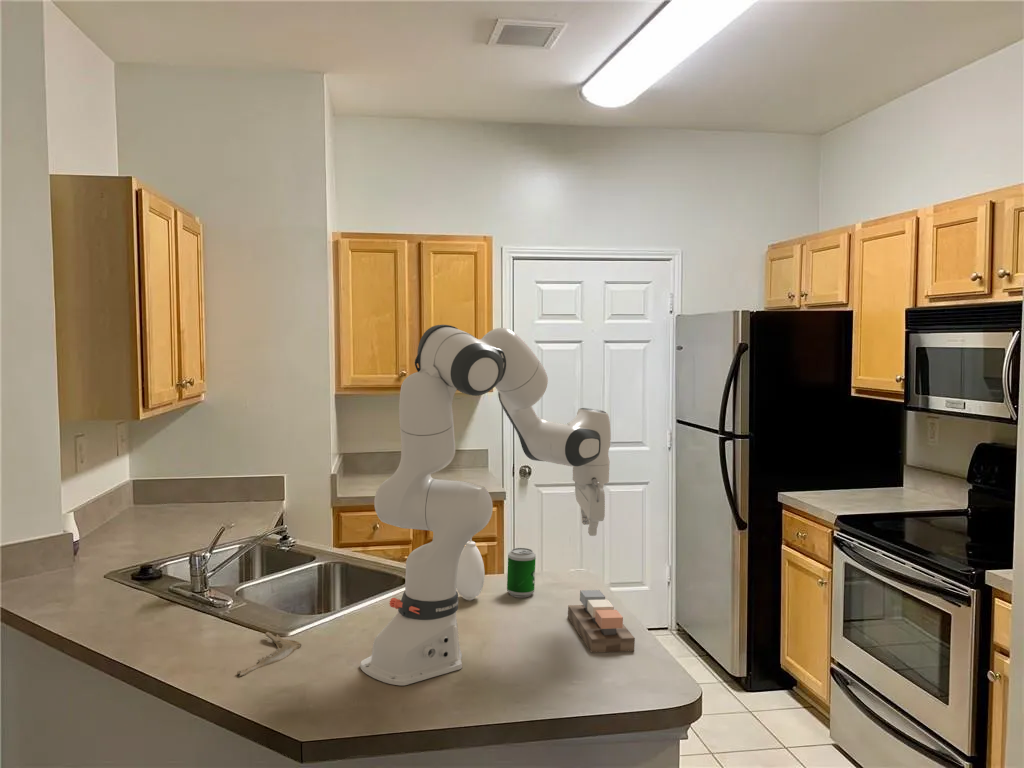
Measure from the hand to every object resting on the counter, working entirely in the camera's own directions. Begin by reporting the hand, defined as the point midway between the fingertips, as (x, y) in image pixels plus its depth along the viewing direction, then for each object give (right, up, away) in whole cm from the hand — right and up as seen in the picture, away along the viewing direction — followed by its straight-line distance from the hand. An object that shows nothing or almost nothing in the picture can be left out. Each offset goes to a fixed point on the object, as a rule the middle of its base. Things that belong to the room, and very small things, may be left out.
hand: (588, 529), depth 194 cm
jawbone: (-73, -23, -24) cm, 81 cm away
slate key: (+1, -22, +2) cm, 22 cm away
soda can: (-17, -22, +21) cm, 34 cm away
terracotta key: (+3, -23, -12) cm, 26 cm away
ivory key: (+2, -22, -5) cm, 23 cm away
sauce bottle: (-30, -22, +15) cm, 40 cm away
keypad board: (+2, -24, -5) cm, 25 cm away
